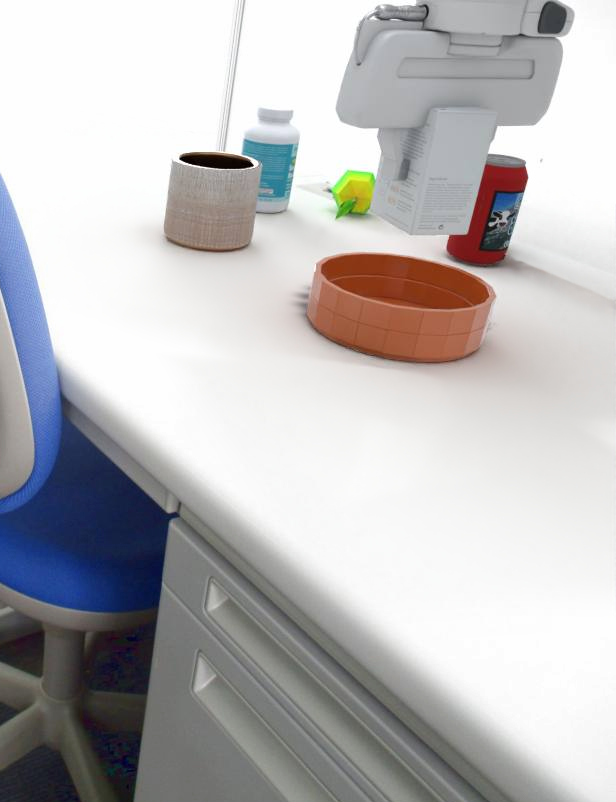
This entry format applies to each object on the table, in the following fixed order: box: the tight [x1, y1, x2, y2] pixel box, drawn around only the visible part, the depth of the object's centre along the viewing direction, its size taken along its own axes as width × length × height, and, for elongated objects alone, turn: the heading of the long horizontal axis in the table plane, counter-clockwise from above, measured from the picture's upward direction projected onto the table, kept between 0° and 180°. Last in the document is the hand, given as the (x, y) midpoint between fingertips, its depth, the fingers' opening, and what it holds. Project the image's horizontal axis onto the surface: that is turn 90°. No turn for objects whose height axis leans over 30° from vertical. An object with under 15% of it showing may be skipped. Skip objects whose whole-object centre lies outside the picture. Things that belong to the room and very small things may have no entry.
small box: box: [369, 107, 498, 236], centre depth 77 cm, size 8×6×10 cm
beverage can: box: [445, 153, 529, 267], centre depth 103 cm, size 7×7×12 cm
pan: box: [306, 251, 497, 363], centre depth 83 cm, size 16×16×5 cm
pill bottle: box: [240, 104, 301, 214], centre depth 119 cm, size 8×7×14 cm
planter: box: [163, 150, 262, 252], centre depth 105 cm, size 11×11×10 cm
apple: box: [330, 169, 376, 221], centre depth 120 cm, size 7×6×9 cm
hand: (427, 178), depth 77 cm, fingers closed on small box, 6 cm apart
